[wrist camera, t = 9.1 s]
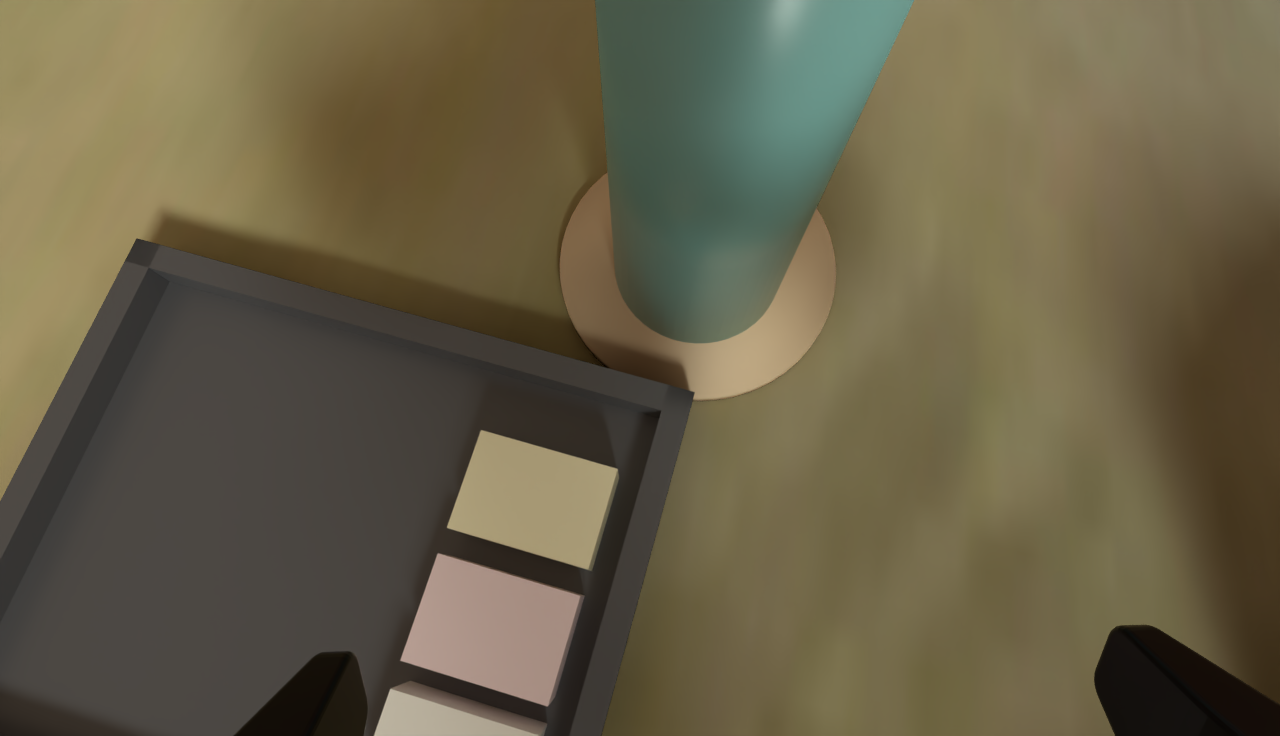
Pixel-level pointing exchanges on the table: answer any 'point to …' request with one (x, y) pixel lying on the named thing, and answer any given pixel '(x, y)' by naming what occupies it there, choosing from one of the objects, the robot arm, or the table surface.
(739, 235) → the teal cylinder
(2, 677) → the condiment tray
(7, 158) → the table surface
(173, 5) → the table surface
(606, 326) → the cork coaster
